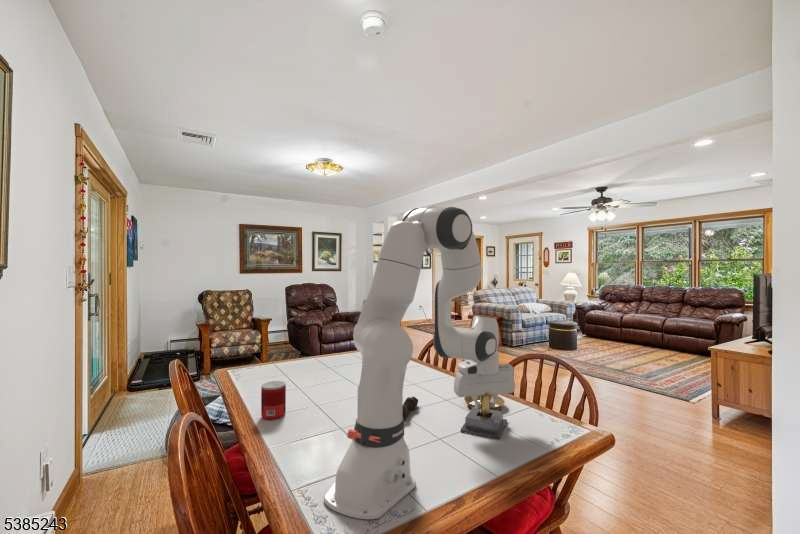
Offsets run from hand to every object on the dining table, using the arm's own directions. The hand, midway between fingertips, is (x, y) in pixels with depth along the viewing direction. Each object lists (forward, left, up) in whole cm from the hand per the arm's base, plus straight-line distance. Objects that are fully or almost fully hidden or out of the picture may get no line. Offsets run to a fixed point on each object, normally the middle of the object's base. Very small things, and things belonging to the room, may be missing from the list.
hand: (484, 407), depth 119 cm
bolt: (0, +27, -7) cm, 28 cm away
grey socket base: (0, 0, -6) cm, 6 cm away
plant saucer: (+18, +4, -7) cm, 20 cm away
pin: (0, 0, -5) cm, 5 cm away
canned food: (-23, +68, -6) cm, 72 cm away
